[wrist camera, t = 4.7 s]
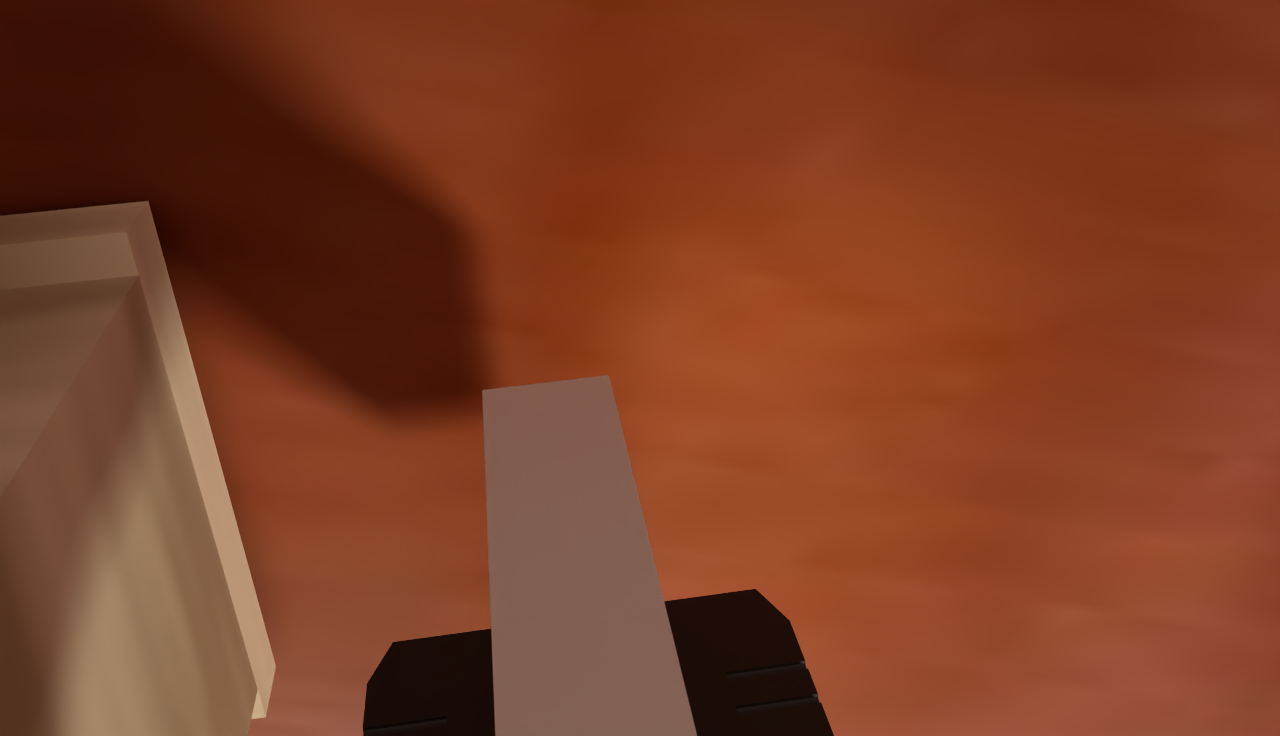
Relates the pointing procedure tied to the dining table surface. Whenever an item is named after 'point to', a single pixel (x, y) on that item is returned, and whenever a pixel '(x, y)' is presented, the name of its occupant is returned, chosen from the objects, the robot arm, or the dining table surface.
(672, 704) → the robot arm
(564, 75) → the dining table surface
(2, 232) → the paddle
